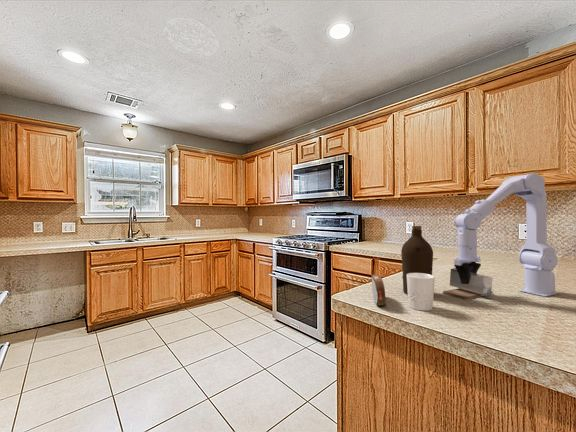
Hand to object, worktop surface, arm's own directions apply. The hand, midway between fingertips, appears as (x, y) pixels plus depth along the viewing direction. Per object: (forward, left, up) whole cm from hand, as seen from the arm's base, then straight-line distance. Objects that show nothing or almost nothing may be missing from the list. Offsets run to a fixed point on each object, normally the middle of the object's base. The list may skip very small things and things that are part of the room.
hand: (467, 283), depth 97 cm
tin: (+36, -8, -4) cm, 37 cm away
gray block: (0, 0, -2) cm, 2 cm away
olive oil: (+16, -9, -4) cm, 19 cm away
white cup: (+28, +2, -4) cm, 28 cm away
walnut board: (0, 0, -4) cm, 4 cm away
